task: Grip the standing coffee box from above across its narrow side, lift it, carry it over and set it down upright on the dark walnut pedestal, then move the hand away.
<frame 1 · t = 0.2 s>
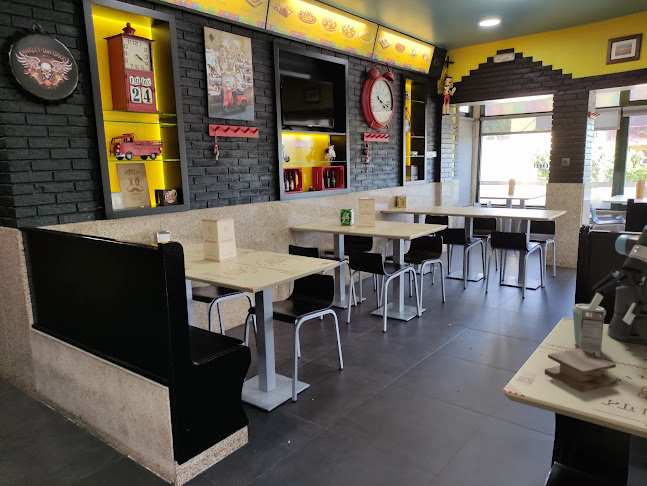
hand: (607, 316, 151), 16 cm above the table, tool tilted 35°, fingers open, 13 cm apart
pedestal: (579, 377, 143), on the table
disposable coffee cup: (586, 345, 169), on the table
coffee box: (588, 360, 156), on the table
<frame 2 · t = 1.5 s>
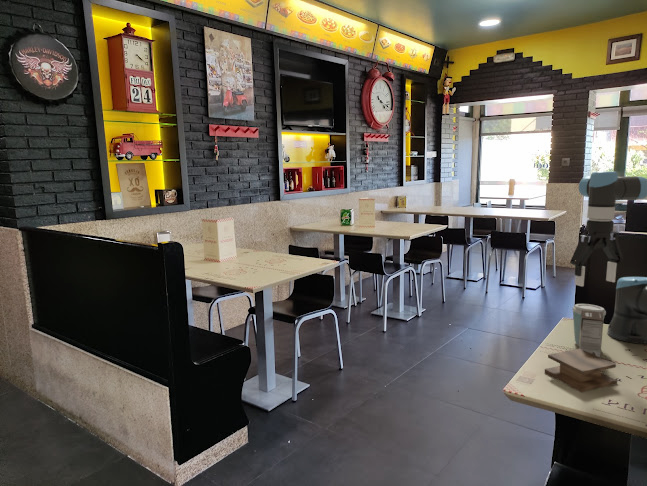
hand: (595, 283, 152), 27 cm above the table, tool pointing down, fingers open, 13 cm apart
nothing on the table moved.
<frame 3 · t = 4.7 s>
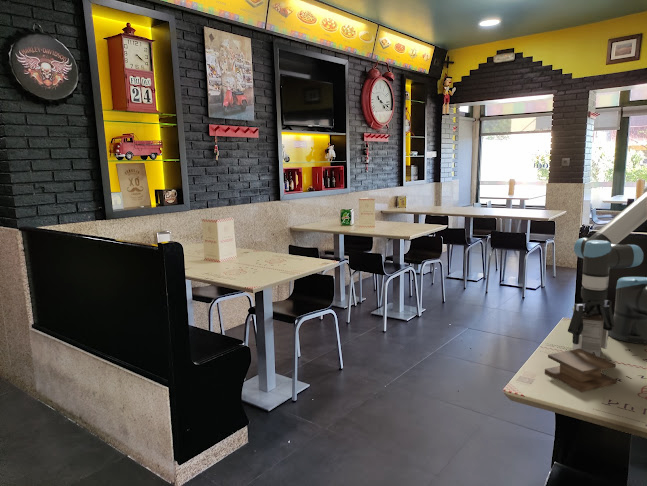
hand: (589, 350, 156), 3 cm above the table, tool pointing down, fingers closed on coffee box, 11 cm apart
coffee box: (588, 360, 156), on the table, touching gripper
everything else where it was.
when the fingers open (11 cm above the table, at t = 11.7 s): coffee box drops 1 cm, resting on pedestal.
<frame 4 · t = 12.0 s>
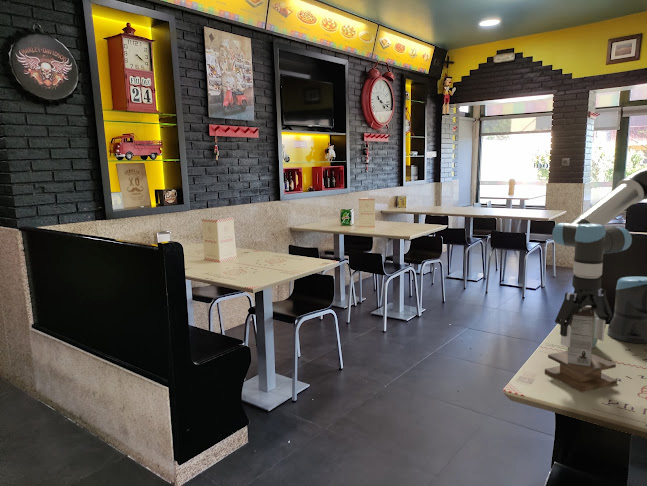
hand: (582, 342, 141), 12 cm above the table, tool pointing down, fingers open, 13 cm apart
coffee box: (578, 360, 142), point 6 cm above the table, touching pedestal
everything else where it was.
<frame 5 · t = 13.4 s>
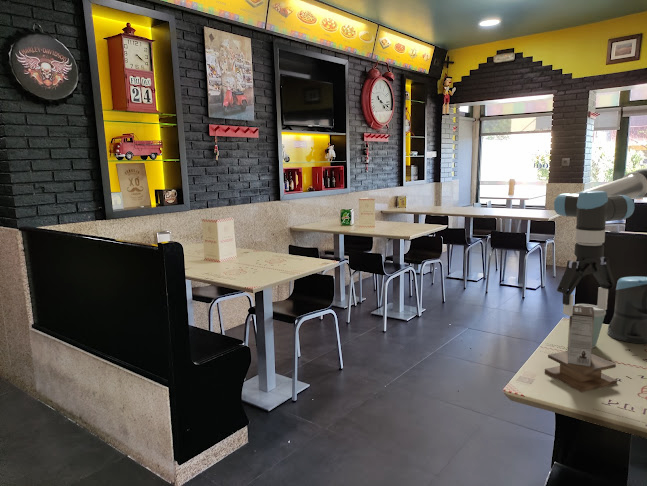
hand: (585, 311, 140), 22 cm above the table, tool pointing down, fingers open, 13 cm apart
coffee box: (578, 360, 142), point 6 cm above the table, touching gripper, pedestal
everything else where it was.
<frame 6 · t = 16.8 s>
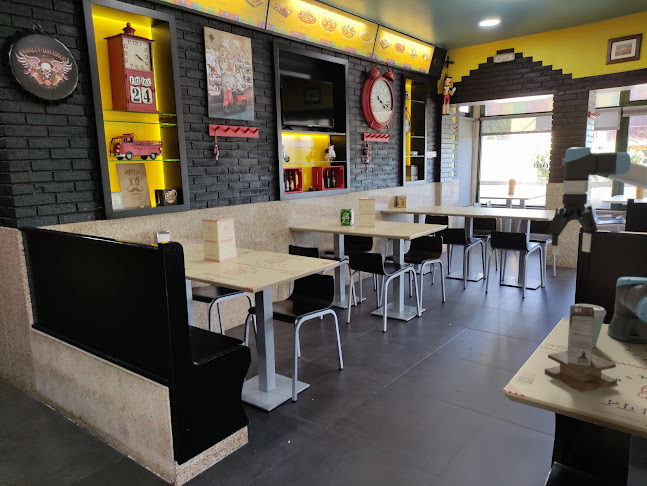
hand: (571, 253, 162), 35 cm above the table, tool pointing down, fingers open, 13 cm apart
coffee box: (578, 360, 142), point 6 cm above the table, touching pedestal
everything else where it was.
at the end: coffee box inside the target area on the pedestal (0.8 cm from its centre), point 6.0 cm above the pedestal's base; coffee box tilted 0°; coffee box touching pedestal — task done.
